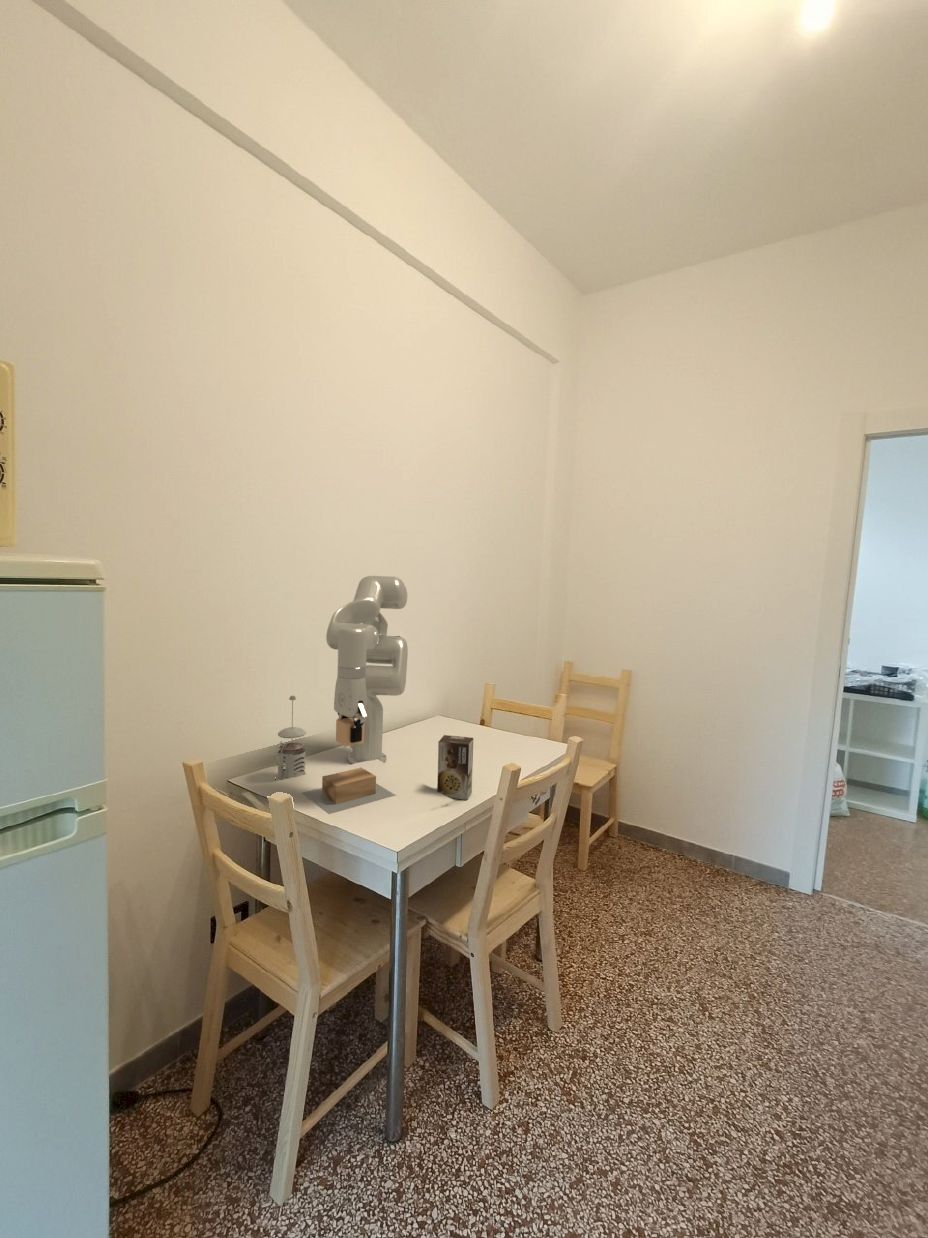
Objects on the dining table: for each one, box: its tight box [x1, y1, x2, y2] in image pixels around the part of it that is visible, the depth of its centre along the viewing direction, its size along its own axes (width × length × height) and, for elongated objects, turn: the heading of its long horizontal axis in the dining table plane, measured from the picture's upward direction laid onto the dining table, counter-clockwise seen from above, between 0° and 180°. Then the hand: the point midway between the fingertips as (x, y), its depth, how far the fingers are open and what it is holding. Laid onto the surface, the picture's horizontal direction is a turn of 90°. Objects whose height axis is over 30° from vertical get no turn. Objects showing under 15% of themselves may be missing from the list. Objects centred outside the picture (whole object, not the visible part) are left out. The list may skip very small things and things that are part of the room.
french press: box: [274, 695, 307, 782], centre depth 161 cm, size 10×12×25 cm
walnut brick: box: [321, 767, 377, 804], centre depth 149 cm, size 8×12×5 cm, turn 131°
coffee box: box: [436, 734, 474, 800], centre depth 155 cm, size 9×6×16 cm
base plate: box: [301, 783, 396, 815], centre depth 149 cm, size 16×20×2 cm
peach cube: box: [335, 718, 365, 747], centre depth 147 cm, size 6×6×6 cm
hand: (350, 738), depth 147 cm, fingers closed on peach cube, 5 cm apart
